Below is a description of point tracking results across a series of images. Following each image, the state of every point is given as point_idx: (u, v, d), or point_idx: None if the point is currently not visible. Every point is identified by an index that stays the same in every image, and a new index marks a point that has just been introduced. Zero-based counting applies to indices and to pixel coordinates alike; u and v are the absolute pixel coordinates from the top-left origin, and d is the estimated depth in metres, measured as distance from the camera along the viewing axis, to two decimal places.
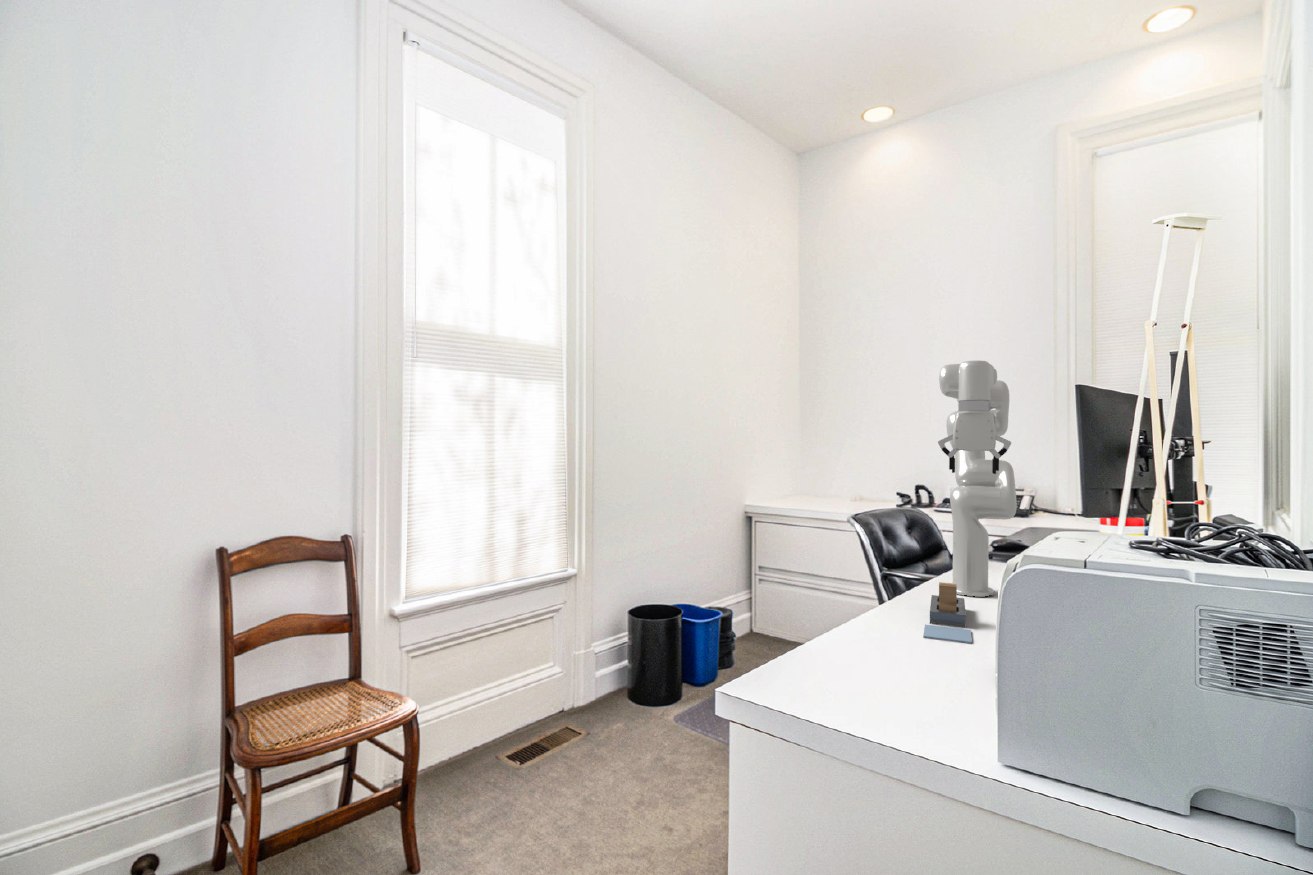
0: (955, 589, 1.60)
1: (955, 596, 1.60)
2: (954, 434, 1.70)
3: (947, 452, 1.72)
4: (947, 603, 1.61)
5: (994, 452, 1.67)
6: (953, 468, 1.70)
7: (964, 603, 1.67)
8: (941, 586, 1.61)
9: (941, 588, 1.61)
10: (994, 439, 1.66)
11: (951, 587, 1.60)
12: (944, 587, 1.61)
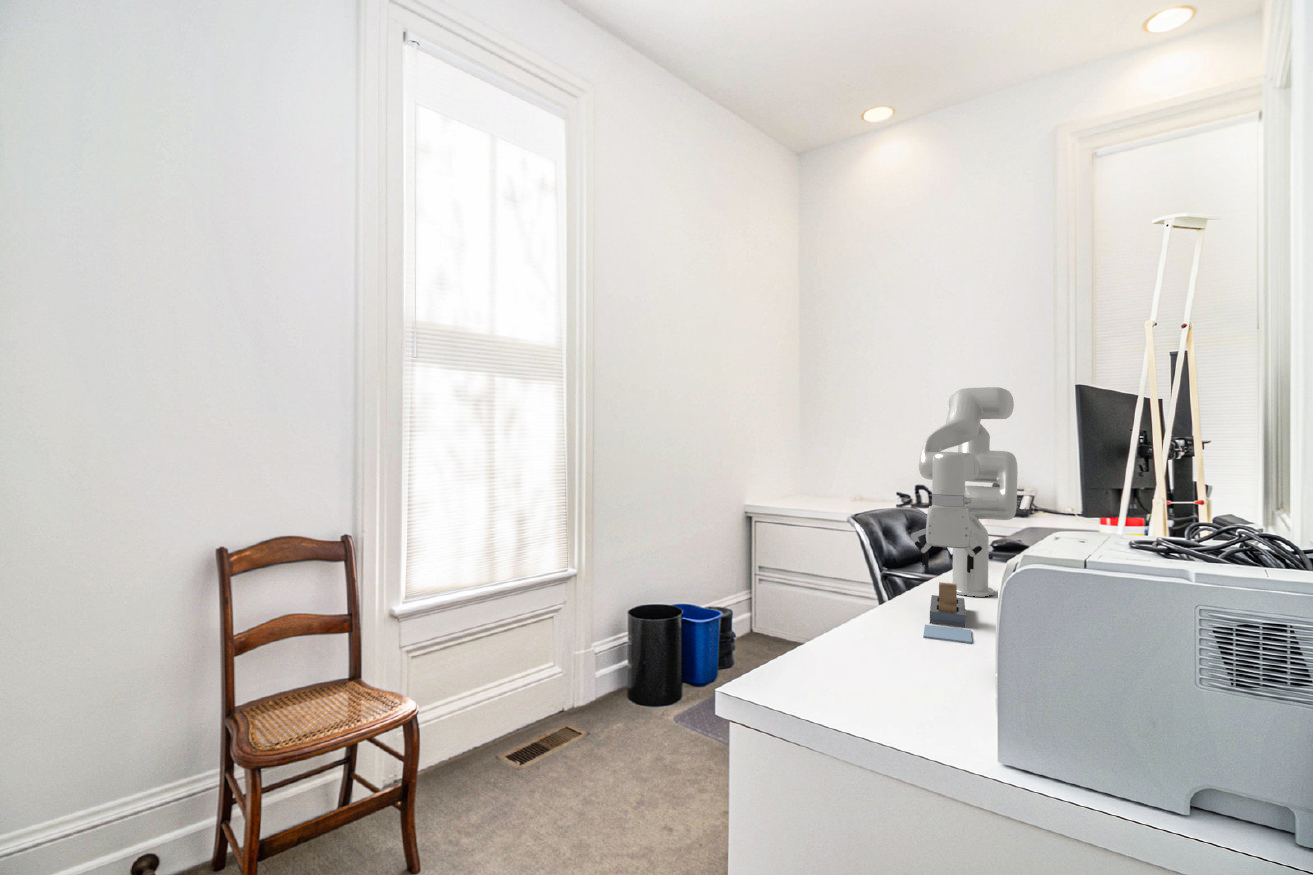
0: (955, 589, 1.60)
1: (955, 596, 1.60)
2: (927, 529, 1.62)
3: (920, 547, 1.64)
4: (947, 603, 1.61)
5: (968, 550, 1.59)
6: (926, 564, 1.62)
7: (964, 603, 1.67)
8: (941, 586, 1.61)
9: (941, 588, 1.61)
10: (968, 536, 1.58)
11: (951, 587, 1.60)
12: (944, 587, 1.61)
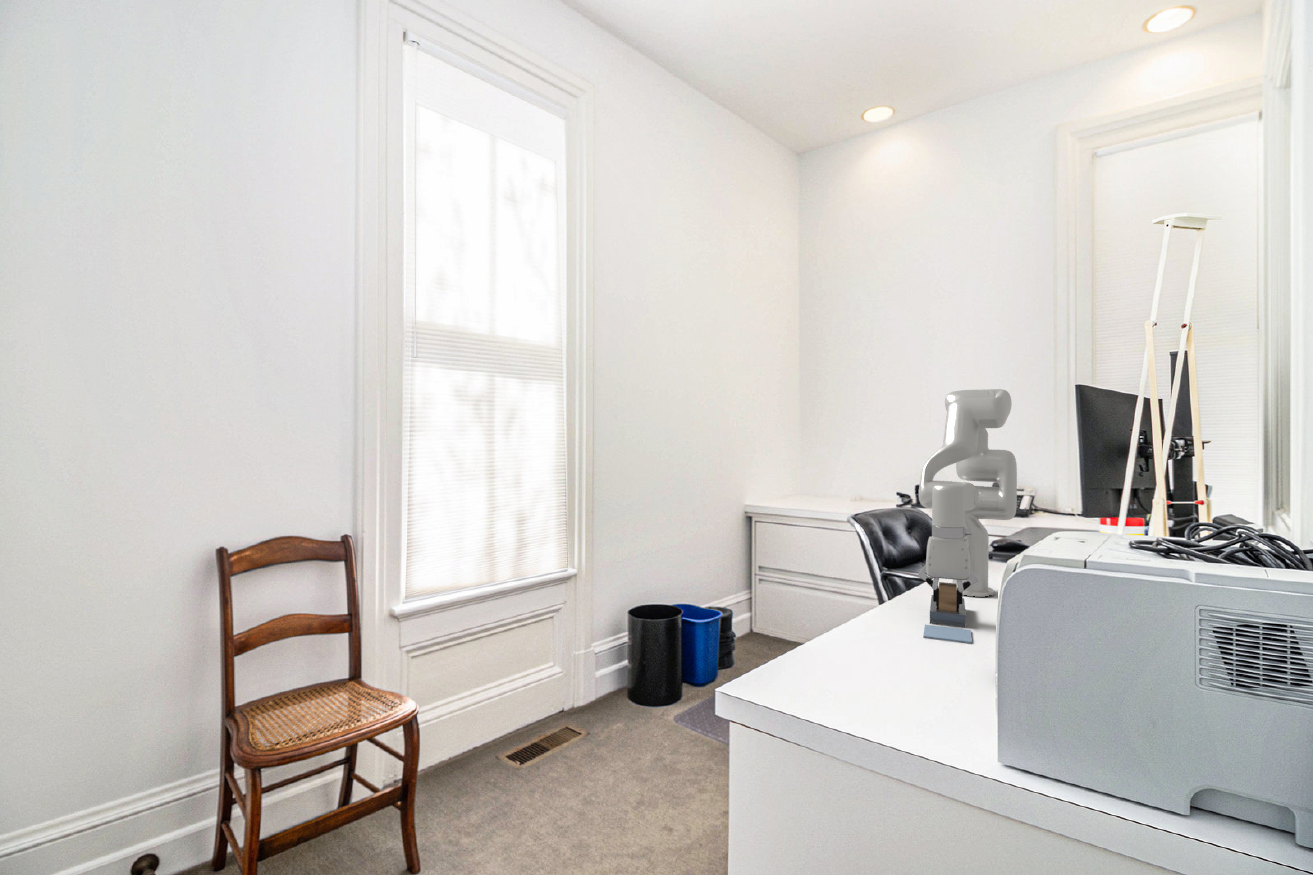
0: (955, 589, 1.60)
1: (955, 596, 1.60)
2: (927, 560, 1.63)
3: (930, 585, 1.63)
4: (947, 603, 1.61)
5: (960, 585, 1.60)
6: (937, 601, 1.62)
7: (964, 603, 1.67)
8: (941, 586, 1.61)
9: (941, 588, 1.61)
10: (968, 568, 1.59)
11: (951, 587, 1.60)
12: (944, 587, 1.61)
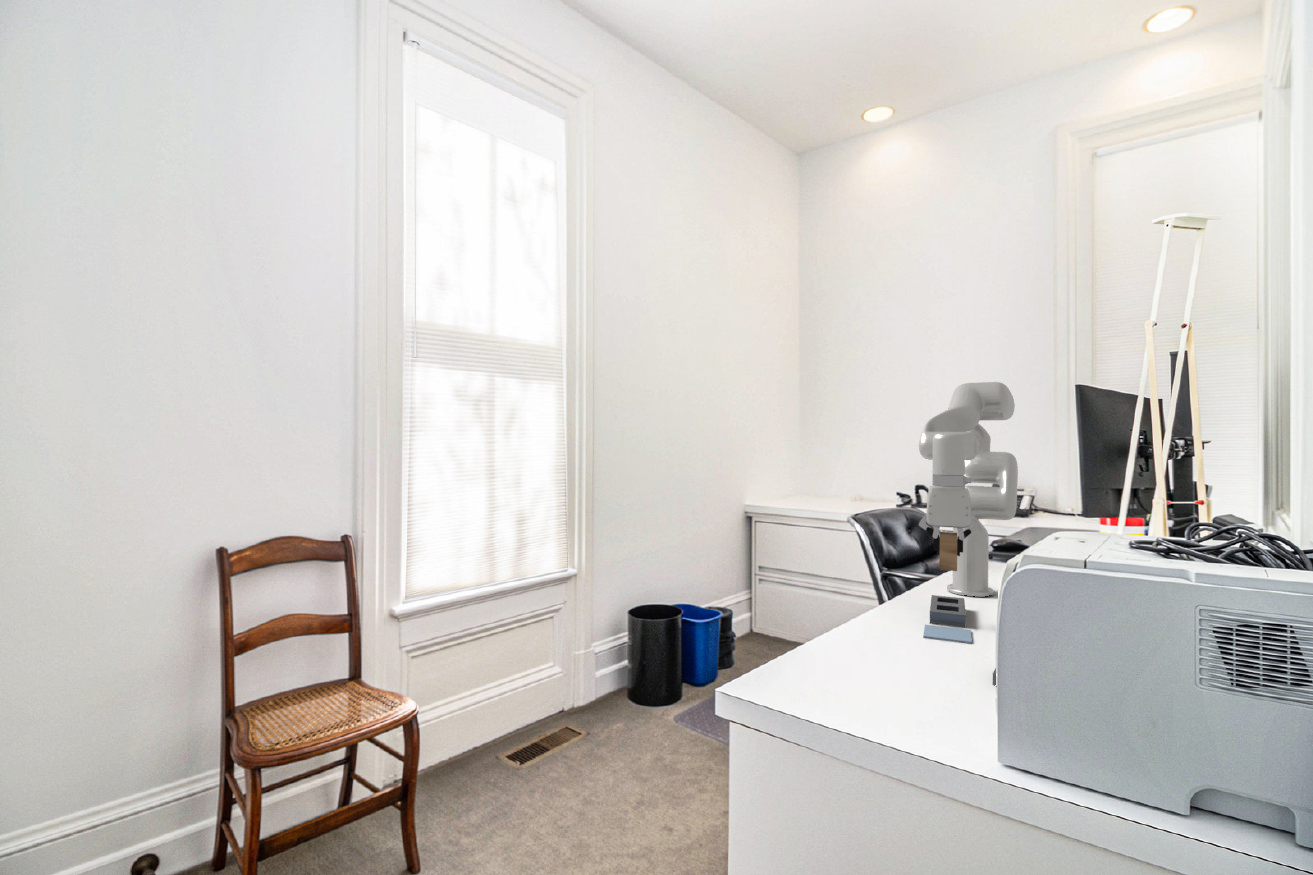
0: (956, 537, 1.60)
1: (956, 544, 1.60)
2: (928, 509, 1.63)
3: (930, 534, 1.64)
4: (947, 552, 1.61)
5: (960, 533, 1.60)
6: (938, 550, 1.62)
7: (964, 603, 1.67)
8: (942, 534, 1.61)
9: (942, 536, 1.61)
10: (969, 516, 1.59)
11: (952, 535, 1.60)
12: (945, 535, 1.61)
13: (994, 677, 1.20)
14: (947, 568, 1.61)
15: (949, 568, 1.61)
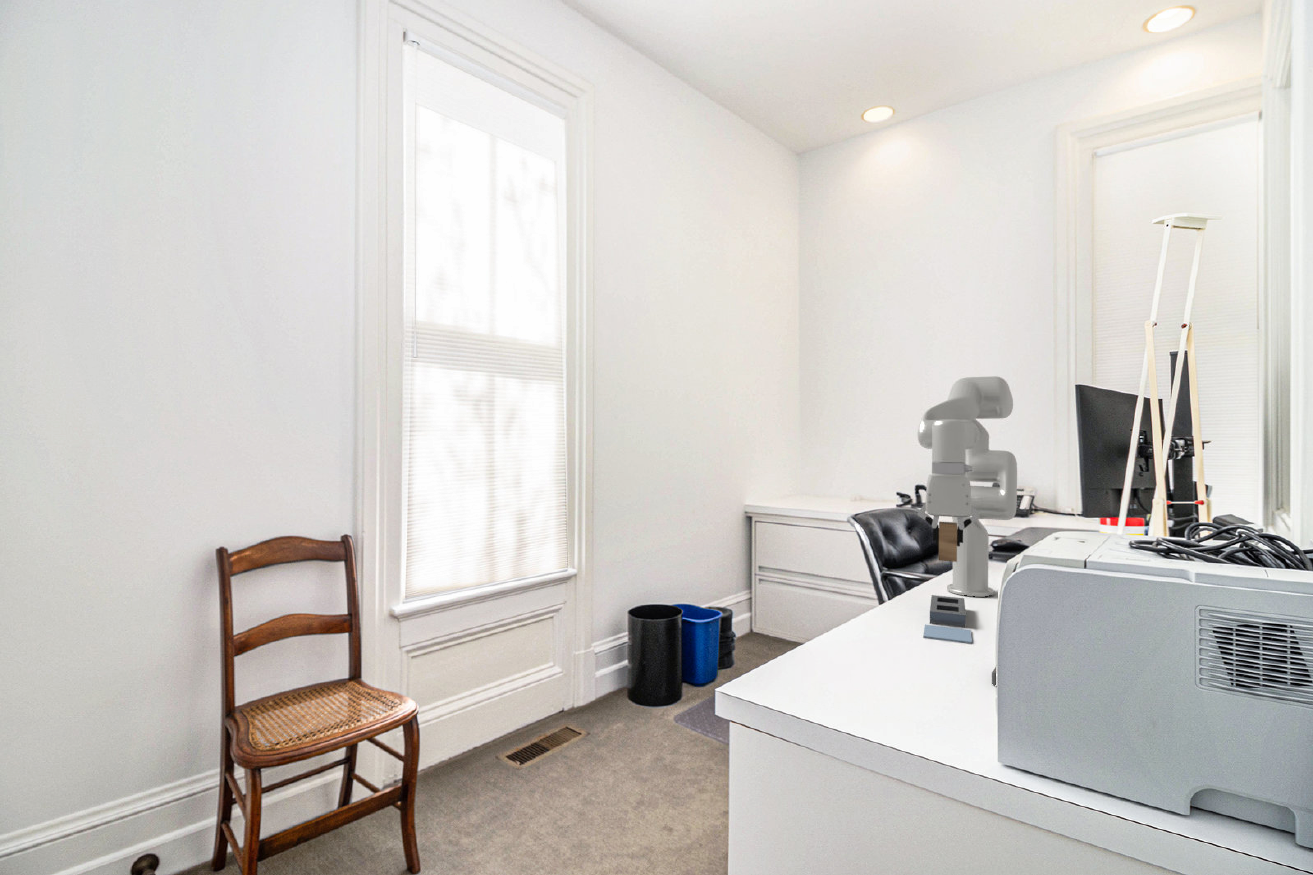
0: (955, 526, 1.55)
1: (955, 534, 1.55)
2: (927, 498, 1.58)
3: None
4: (947, 542, 1.56)
5: (960, 522, 1.55)
6: (937, 540, 1.57)
7: (964, 603, 1.67)
8: (941, 524, 1.57)
9: (941, 526, 1.56)
10: (969, 505, 1.54)
11: (951, 524, 1.56)
12: (944, 525, 1.56)
13: (993, 677, 1.20)
14: (946, 559, 1.56)
15: (948, 559, 1.56)
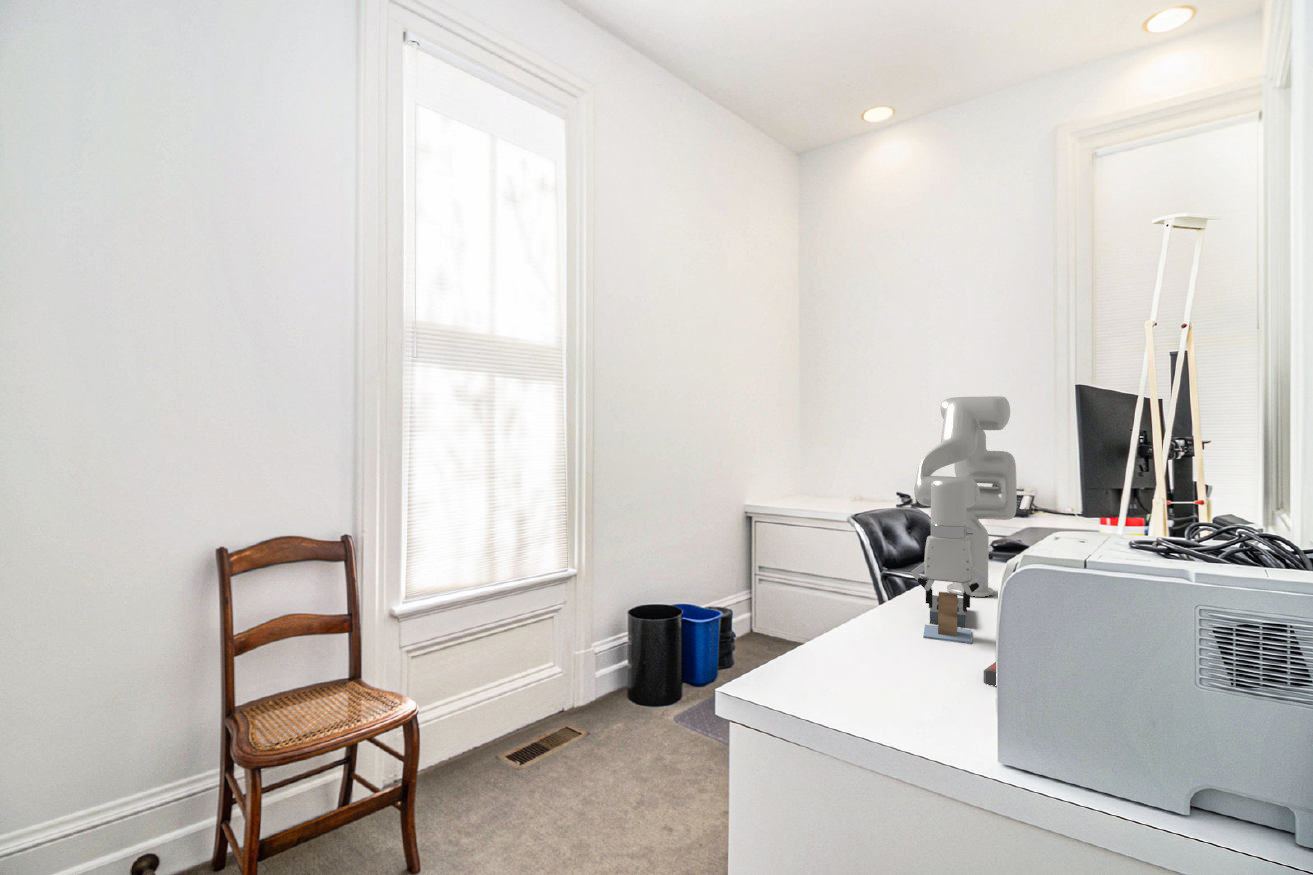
0: (956, 599, 1.48)
1: (956, 607, 1.48)
2: (926, 561, 1.51)
3: (923, 585, 1.52)
4: (947, 615, 1.49)
5: (966, 587, 1.48)
6: (930, 603, 1.51)
7: None
8: (941, 596, 1.49)
9: (941, 598, 1.49)
10: (970, 570, 1.47)
11: (952, 597, 1.48)
12: (944, 597, 1.49)
13: (984, 674, 1.21)
14: (946, 632, 1.49)
15: (948, 633, 1.49)
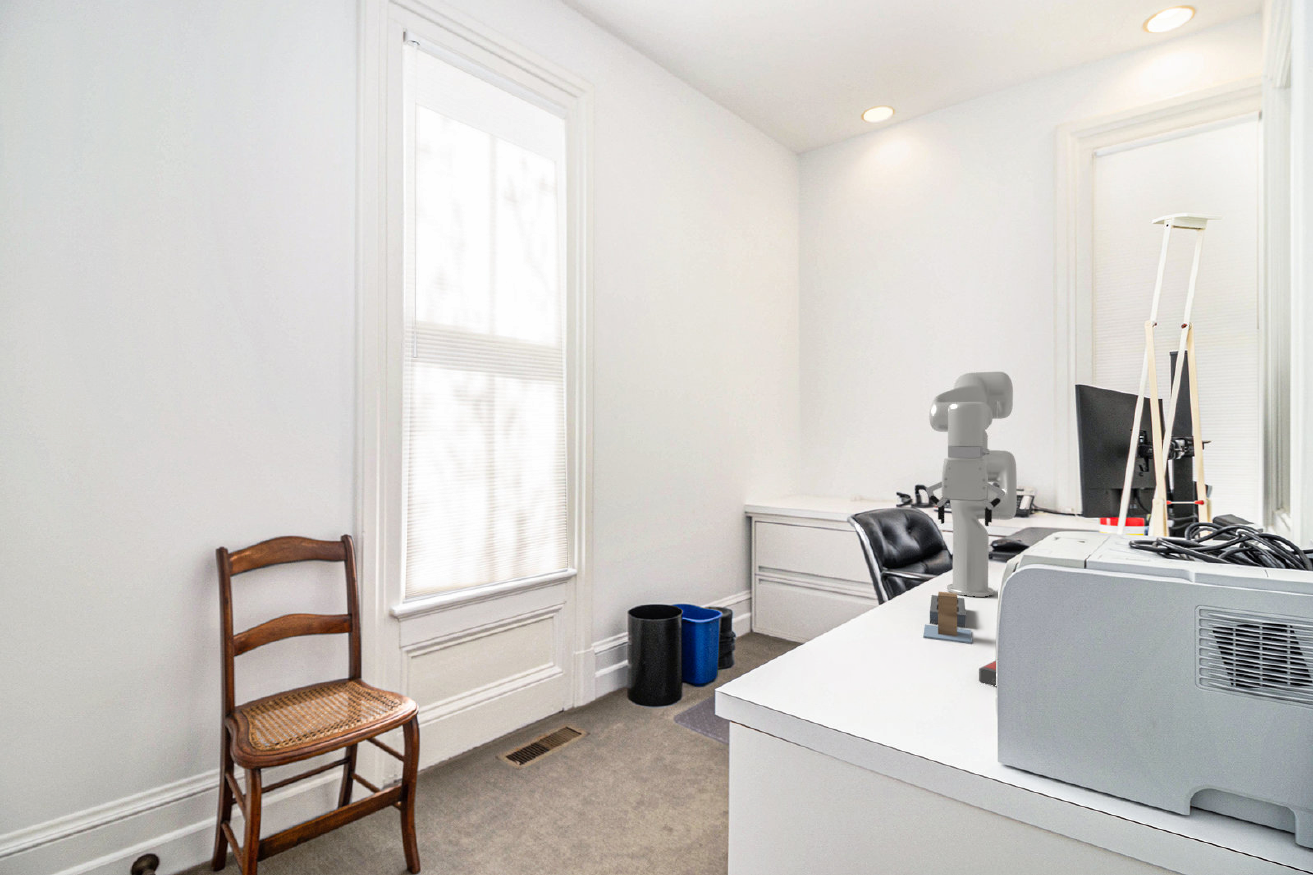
0: (956, 599, 1.48)
1: (956, 607, 1.48)
2: (943, 482, 1.56)
3: (936, 501, 1.58)
4: (946, 615, 1.49)
5: (986, 503, 1.53)
6: (942, 519, 1.57)
7: (964, 603, 1.67)
8: (940, 596, 1.49)
9: (940, 598, 1.49)
10: (986, 489, 1.52)
11: (951, 597, 1.48)
12: (944, 597, 1.49)
13: (979, 673, 1.22)
14: (946, 633, 1.49)
15: (948, 633, 1.49)
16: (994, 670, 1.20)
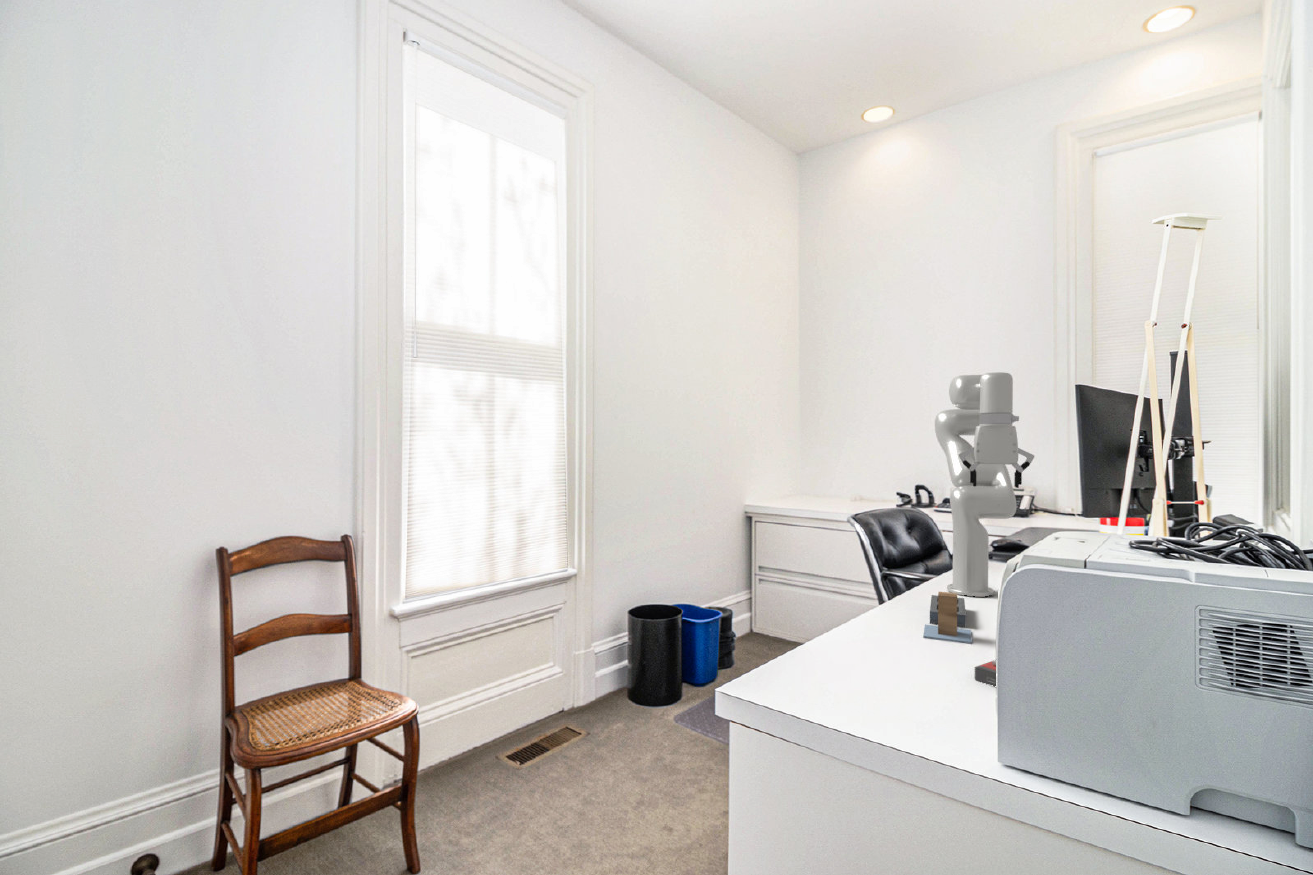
0: (956, 599, 1.48)
1: (956, 607, 1.48)
2: (975, 447, 1.67)
3: (968, 465, 1.69)
4: (946, 615, 1.49)
5: (1017, 466, 1.64)
6: (974, 482, 1.67)
7: (964, 603, 1.67)
8: (940, 596, 1.49)
9: (940, 598, 1.49)
10: (1017, 452, 1.63)
11: (951, 597, 1.48)
12: (944, 597, 1.49)
13: (975, 671, 1.23)
14: (946, 633, 1.49)
15: (948, 633, 1.49)
16: (989, 669, 1.21)
